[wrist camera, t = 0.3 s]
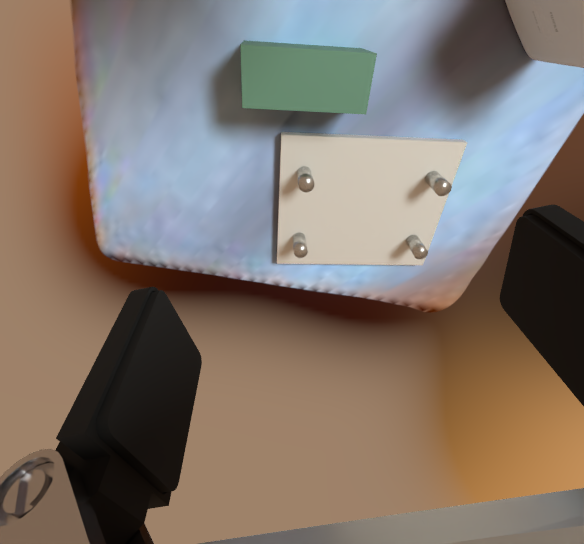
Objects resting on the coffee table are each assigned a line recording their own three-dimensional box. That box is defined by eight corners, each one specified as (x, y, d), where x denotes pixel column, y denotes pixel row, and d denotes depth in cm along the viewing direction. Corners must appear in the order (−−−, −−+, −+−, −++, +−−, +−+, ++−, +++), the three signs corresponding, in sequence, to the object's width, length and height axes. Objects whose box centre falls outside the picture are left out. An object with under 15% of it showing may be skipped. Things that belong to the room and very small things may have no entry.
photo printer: (488, -30, 31) (589, -49, 21) (535, -73, 30) (667, -116, 20) (525, 66, 36) (620, 85, 26) (566, 33, 35) (684, 41, 25)
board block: (244, 40, 34) (240, 44, 29) (361, 48, 34) (376, 53, 30) (245, 96, 37) (242, 107, 32) (353, 101, 38) (365, 114, 33)
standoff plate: (281, 131, 39) (282, 144, 35) (462, 139, 41) (482, 152, 37) (276, 258, 50) (277, 278, 46) (419, 260, 51) (431, 279, 48)
